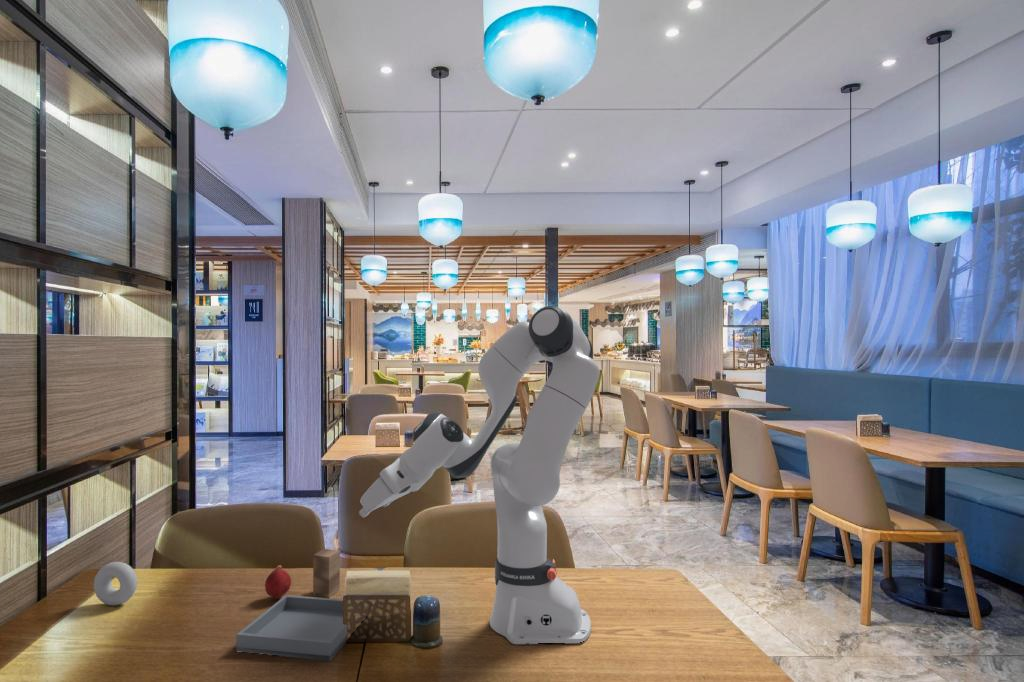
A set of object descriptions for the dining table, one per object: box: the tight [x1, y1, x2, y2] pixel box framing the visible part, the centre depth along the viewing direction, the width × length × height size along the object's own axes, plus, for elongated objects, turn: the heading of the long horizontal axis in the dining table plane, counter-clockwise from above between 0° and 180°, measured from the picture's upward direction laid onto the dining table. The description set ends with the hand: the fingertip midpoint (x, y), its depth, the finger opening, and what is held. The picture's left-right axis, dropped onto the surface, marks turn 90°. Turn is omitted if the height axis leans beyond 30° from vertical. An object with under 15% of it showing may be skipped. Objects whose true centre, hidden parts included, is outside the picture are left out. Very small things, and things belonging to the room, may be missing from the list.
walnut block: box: [312, 548, 341, 599], centre depth 138 cm, size 4×4×10 cm
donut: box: [93, 561, 138, 607], centre depth 130 cm, size 10×4×10 cm, turn 85°
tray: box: [235, 594, 347, 662], centre depth 118 cm, size 20×18×4 cm
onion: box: [264, 564, 292, 600], centre depth 134 cm, size 6×6×8 cm
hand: (373, 509), depth 135 cm, fingers open, 8 cm apart
